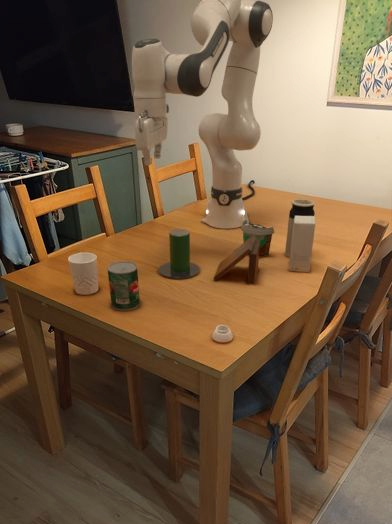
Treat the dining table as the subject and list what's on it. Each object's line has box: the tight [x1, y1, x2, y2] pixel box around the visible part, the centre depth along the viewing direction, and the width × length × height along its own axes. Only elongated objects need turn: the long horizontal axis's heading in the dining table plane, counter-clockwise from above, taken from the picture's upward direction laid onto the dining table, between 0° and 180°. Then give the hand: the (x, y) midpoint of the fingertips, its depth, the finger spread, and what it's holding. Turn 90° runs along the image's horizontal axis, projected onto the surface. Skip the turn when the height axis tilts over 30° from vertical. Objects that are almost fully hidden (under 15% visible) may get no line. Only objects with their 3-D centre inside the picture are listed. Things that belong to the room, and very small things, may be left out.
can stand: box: [213, 235, 260, 285], centre depth 142 cm, size 12×12×11 cm
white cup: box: [67, 252, 99, 296], centre depth 133 cm, size 8×8×10 cm
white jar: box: [211, 324, 234, 343], centre depth 112 cm, size 5×3×5 cm
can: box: [168, 228, 191, 273], centre depth 143 cm, size 6×13×13 cm
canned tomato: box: [106, 260, 141, 312], centre depth 125 cm, size 8×8×11 cm
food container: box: [240, 220, 275, 258], centre depth 156 cm, size 12×6×10 cm, turn 47°
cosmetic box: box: [289, 215, 316, 273], centre depth 145 cm, size 8×7×16 cm
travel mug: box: [284, 198, 316, 258], centre depth 153 cm, size 8×8×18 cm
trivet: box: [158, 261, 201, 280], centre depth 147 cm, size 13×13×1 cm
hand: (153, 161), depth 137 cm, fingers open, 8 cm apart
